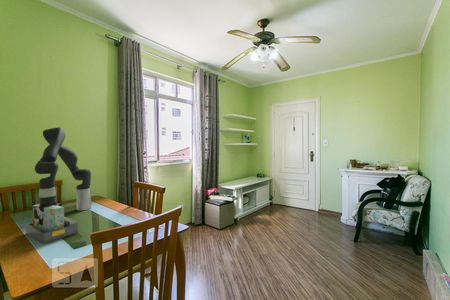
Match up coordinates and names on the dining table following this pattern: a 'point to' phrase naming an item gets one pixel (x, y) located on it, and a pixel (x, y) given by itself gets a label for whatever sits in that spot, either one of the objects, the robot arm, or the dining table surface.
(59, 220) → the snack box
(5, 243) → the dining table surface
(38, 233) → the drawer
